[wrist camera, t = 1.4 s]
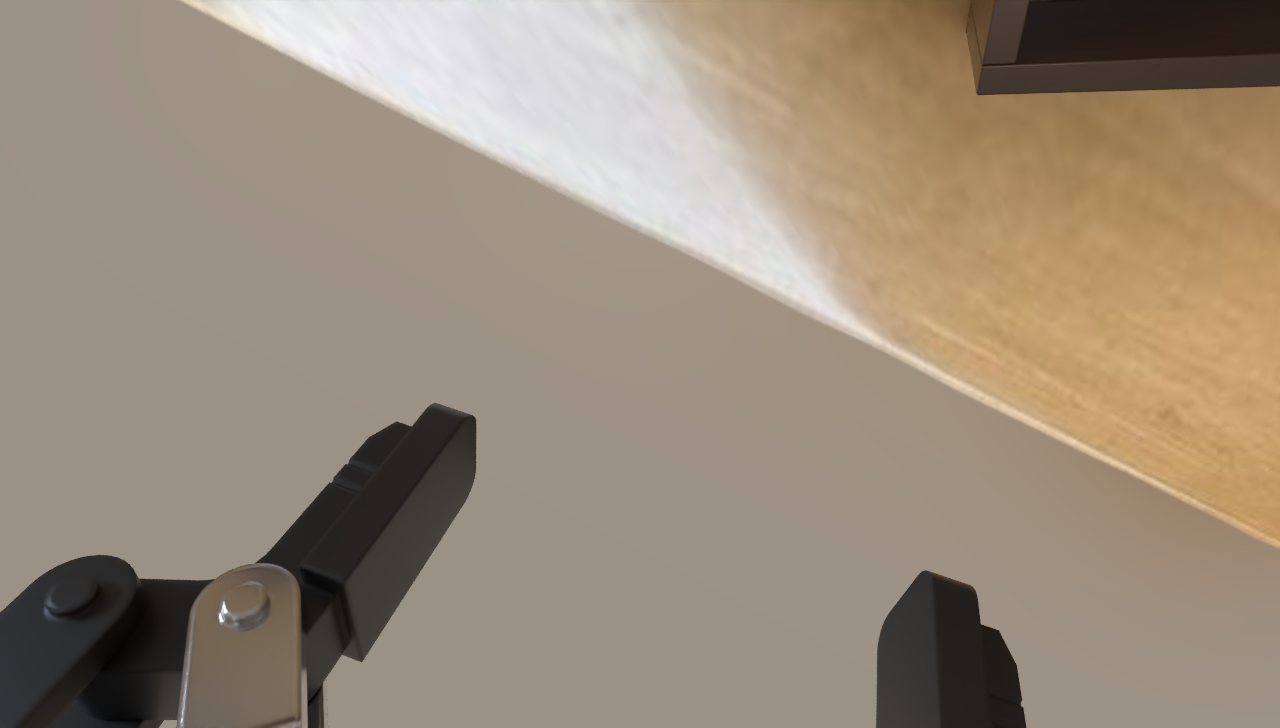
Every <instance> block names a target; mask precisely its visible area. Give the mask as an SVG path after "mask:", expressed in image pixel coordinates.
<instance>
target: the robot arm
mask: <svg viewBox="0 0 1280 728" xmlns="http://www.w3.org/2000/svg"><path fill="white" fill-rule="evenodd" d="M475 473H476V419H475V417H474V416H473V415H470V414H467V413H464V412H461V411H458V410H455V409H452V408H449V407H446V406H443V405H440V404H437V403H434V404H432V405H430V406H429V407H428V408H427V409H426V410H425V411H424V412H423V414H422V415H421V416H420V417H419V418H418V420H417V421H416V422H415V423H414V425H413V426H412V427H411V426H408V425H405V424H402V423H399V422H395V423H393V424H391V425H390V426H388V427H386V428H384V429H383V430H381V431H379V432H378V433H376V434H374V435H372V436H371V437H369V438H368V439H367V440H366V441H365V443H364V444H363V445H362V446H361V447H360V448H359V449H358V451H357V452H356V453H355V454H354V455H353V456H352V457H351V459H350V461H349V463H348V464H345V465H344V467H343V468H342V469H341V470H340V471H339V472H338V474H337V475H336V476H335V477H334V479H333V482H332V483H329V484H328V485H327V486H326V487H325V488H324V489H323V491H322V492H321V493H320V494H319V495H318V496H317V497H316V499H315V500H314V501H313V502H312V503H311V504H310V506H309V507H308V508H307V509H306V510H305V511H304V512H303V513H302V515H301V516H300V517H299V518H298V519H297V520H296V521H295V523H294V524H293V525H292V526H291V527H290V528H289V530H288V531H287V532H286V533H285V534H284V535H283V536H282V537H281V539H280V540H279V541H278V542H277V543H276V544H275V545H274V547H273V548H272V549H271V550H270V551H269V552H268V553H267V554H266V555H265V556H264V557H262V558H261V559H260V560H259V561H257V562H256V563H254V564H248V565H244V566H240V567H237V568H235V569H232V570H230V571H228V572H226V573H224V574H222V575H220V576H219V577H218V578H216V579H213V580H199V581H195V580H162V579H139V578H138V576H137V575H136V573H135V571H134V569H133V568H132V567H131V566H130V564H128V563H127V562H126V561H124V560H122V559H120V558H117V557H113V556H107V555H96V556H87V557H81V558H78V559H74V560H71V561H69V562H66V563H63V564H61V565H59V566H57V567H55V568H53V569H51V570H49V571H48V572H46V573H45V574H43V575H42V576H40V577H39V578H38V579H36V580H35V581H34V582H33V583H32V584H30V585H29V586H28V587H27V588H26V589H25V590H24V591H23V592H22V593H21V594H20V595H19V596H18V597H16V598H15V599H14V601H12V602H11V603H10V604H9V605H8V606H7V607H6V608H5V609H4V610H3V611H1V612H0V728H158V727H159V726H160V725H161V724H162V722H163V721H164V720H177V727H176V728H328V707H327V682H326V681H327V680H326V677H327V676H328V674H329V673H330V672H331V670H332V669H333V667H334V665H335V664H336V663H337V661H338V660H339V658H340V657H341V655H345V656H347V657H350V658H352V659H355V660H357V661H360V662H362V661H363V660H364V658H365V657H366V655H367V654H368V652H369V651H370V649H371V647H372V646H373V644H374V643H375V641H376V640H377V638H378V637H379V635H380V633H381V632H382V630H383V629H384V627H385V626H386V624H387V623H388V621H389V619H390V618H391V616H392V615H393V613H394V612H395V610H396V608H397V607H398V605H399V604H400V602H401V600H402V599H403V598H404V596H405V595H406V593H407V591H408V590H409V588H410V587H411V585H412V584H413V582H414V581H415V579H416V577H417V576H418V574H419V573H420V571H421V570H422V568H423V567H424V565H425V563H426V562H427V560H428V559H429V557H430V556H431V554H432V553H433V551H434V549H435V548H436V546H437V545H438V543H439V542H440V540H441V539H442V537H443V535H444V534H445V532H446V531H447V529H448V528H449V526H450V525H451V523H452V521H453V520H454V518H455V517H456V515H457V514H458V512H459V511H460V509H461V508H462V506H463V504H464V503H465V501H466V499H467V497H468V495H469V493H470V491H471V488H472V485H473V482H474V478H475ZM1021 701H1022V697H1021V690H1020V684H1019V678H1018V671H1017V665H1016V663H1015V661H1014V659H1013V657H1012V655H1011V654H1010V651H1009V650H1008V648H1007V646H1006V644H1005V642H1004V640H1003V638H1002V636H1001V634H1000V632H999V630H996V629H993V628H990V627H987V626H984V625H981V624H980V615H979V607H978V598H977V594H976V591H975V589H974V588H973V587H972V586H971V585H968V584H965V583H962V582H959V581H956V580H953V579H950V578H947V577H944V576H941V575H938V574H935V573H932V572H930V571H922V572H921V573H920V574H919V575H918V576H917V578H916V579H915V580H914V581H913V583H912V584H911V585H910V587H909V588H908V589H907V591H906V592H905V593H904V594H903V596H902V597H901V598H900V600H899V601H898V602H897V604H896V605H895V606H894V607H893V609H892V610H891V611H890V613H889V614H888V616H887V617H886V619H885V621H884V624H883V626H882V629H881V632H880V637H879V642H878V650H877V713H876V728H1026V723H1025V717H1024V710H1023V707H1021Z"/></svg>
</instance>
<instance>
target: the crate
mask: <svg viewBox="0 0 1280 728" xmlns="http://www.w3.org/2000/svg"><path fill="white" fill-rule="evenodd" d="M966 33H967V37H968V44H969V50H970V56H971V62H972V68H973V75H974V81H975V87H976V93H977V95H994V94H1028V93H1063V92H1097V91H1132V90H1166V89H1201V88H1235V87H1270V86H1280V0H971V5H970V10H969V16H968V22H967V28H966Z"/></svg>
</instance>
